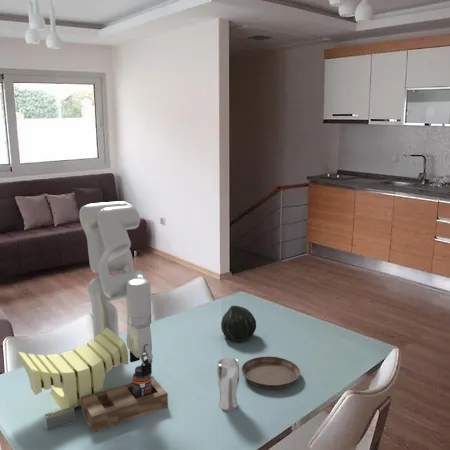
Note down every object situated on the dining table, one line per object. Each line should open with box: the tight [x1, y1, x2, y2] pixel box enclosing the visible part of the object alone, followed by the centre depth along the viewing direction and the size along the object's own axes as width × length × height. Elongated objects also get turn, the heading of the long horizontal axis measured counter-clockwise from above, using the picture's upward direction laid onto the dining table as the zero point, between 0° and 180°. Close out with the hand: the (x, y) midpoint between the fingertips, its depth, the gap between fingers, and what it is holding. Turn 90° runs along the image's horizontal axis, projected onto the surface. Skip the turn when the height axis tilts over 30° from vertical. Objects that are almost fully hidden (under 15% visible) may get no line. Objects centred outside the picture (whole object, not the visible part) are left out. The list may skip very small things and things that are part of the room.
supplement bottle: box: [131, 365, 152, 399], centre depth 155 cm, size 6×6×11 cm
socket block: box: [81, 376, 169, 433], centre depth 152 cm, size 12×24×5 cm, turn 121°
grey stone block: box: [44, 407, 76, 432], centre depth 145 cm, size 3×8×4 cm, turn 121°
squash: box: [220, 305, 257, 342], centre depth 202 cm, size 14×15×15 cm
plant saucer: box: [240, 356, 301, 390], centre depth 172 cm, size 21×21×3 cm
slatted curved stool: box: [17, 328, 129, 410], centre depth 158 cm, size 30×16×18 cm, turn 128°
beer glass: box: [216, 356, 240, 411], centre depth 153 cm, size 7×7×15 cm
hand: (140, 367), depth 154 cm, fingers open, 9 cm apart
